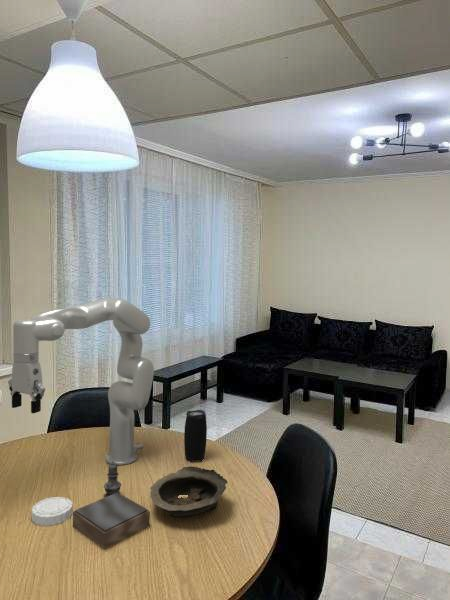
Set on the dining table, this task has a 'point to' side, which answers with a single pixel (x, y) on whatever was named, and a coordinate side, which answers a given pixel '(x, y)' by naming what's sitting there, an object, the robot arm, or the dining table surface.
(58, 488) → the dining table surface
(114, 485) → the black chess piece
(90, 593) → the dining table surface
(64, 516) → the mooncake
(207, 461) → the dining table surface
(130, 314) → the robot arm
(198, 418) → the portable speaker
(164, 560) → the dining table surface
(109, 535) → the walnut base
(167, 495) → the stone bowl
